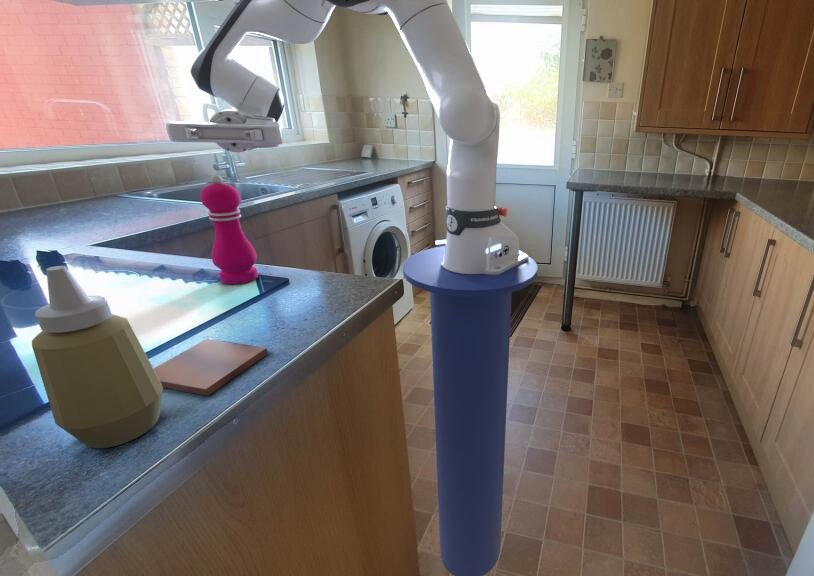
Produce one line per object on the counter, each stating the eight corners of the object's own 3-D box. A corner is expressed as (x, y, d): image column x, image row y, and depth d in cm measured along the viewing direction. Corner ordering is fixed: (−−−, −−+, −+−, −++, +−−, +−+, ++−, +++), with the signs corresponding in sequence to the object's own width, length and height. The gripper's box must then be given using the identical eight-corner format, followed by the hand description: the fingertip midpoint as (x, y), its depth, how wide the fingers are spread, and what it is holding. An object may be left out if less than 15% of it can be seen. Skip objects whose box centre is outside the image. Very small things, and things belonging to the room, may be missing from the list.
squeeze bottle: (116, 465, 38) (37, 290, 31) (45, 451, 40) (-47, 280, 33) (191, 409, 46) (141, 257, 39) (129, 399, 47) (70, 250, 40)
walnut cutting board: (209, 344, 58) (207, 338, 58) (268, 353, 57) (266, 347, 56) (140, 383, 50) (137, 376, 49) (207, 396, 48) (205, 389, 48)
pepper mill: (246, 269, 85) (223, 170, 77) (269, 276, 82) (248, 174, 74) (209, 280, 79) (181, 174, 71) (233, 288, 76) (206, 178, 68)
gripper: (173, 114, 87) (150, 115, 75) (281, 118, 95) (276, 119, 83) (181, 145, 89) (160, 151, 78) (286, 146, 97) (281, 152, 86)
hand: (221, 135), depth 81 cm, fingers open, 8 cm apart
